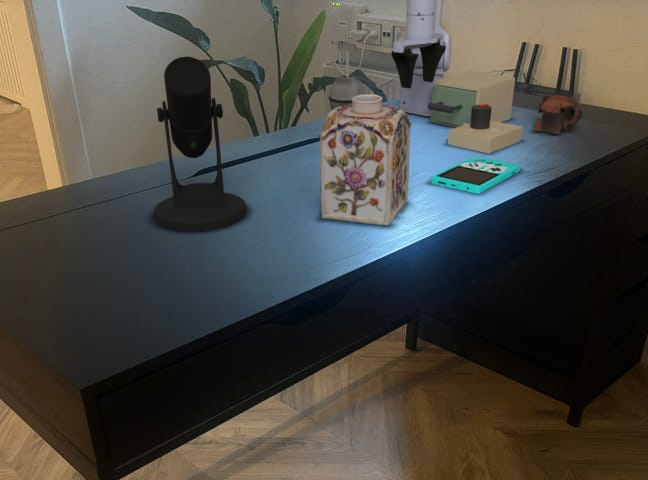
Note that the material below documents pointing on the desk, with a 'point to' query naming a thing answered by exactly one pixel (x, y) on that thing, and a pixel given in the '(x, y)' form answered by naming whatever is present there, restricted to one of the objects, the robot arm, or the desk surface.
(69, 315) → the desk surface
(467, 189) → the handheld game console
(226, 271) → the desk surface
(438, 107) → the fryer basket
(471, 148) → the block
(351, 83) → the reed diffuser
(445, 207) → the desk surface
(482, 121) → the timer dial
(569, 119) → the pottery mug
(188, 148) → the microphone
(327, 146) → the decorative jar
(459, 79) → the drawer box
